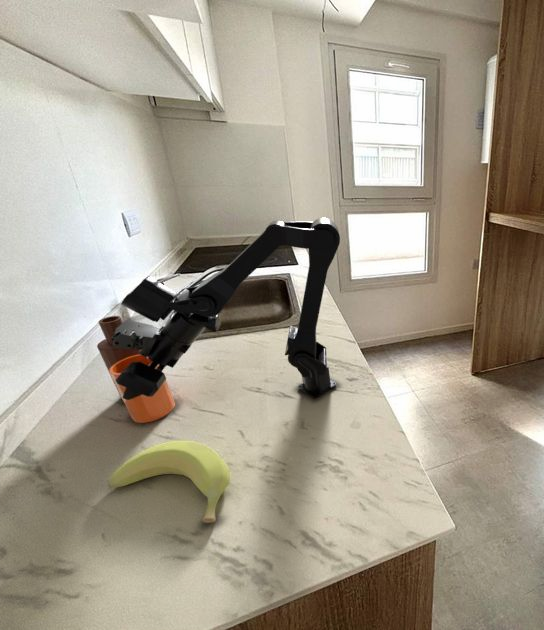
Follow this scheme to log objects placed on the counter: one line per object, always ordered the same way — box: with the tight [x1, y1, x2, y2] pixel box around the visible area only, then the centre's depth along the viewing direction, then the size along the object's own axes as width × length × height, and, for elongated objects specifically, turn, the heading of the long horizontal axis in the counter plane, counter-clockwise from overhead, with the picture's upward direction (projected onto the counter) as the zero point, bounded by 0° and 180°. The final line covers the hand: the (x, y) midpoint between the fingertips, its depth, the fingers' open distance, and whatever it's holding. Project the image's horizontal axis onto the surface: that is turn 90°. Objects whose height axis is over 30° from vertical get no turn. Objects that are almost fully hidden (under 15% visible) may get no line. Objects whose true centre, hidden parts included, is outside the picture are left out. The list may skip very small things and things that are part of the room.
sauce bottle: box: [96, 315, 142, 403], centre depth 71 cm, size 7×7×19 cm
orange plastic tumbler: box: [109, 354, 176, 424], centre depth 68 cm, size 7×7×12 cm
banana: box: [107, 440, 231, 524], centre depth 53 cm, size 14×6×20 cm
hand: (135, 386), depth 67 cm, fingers closed on orange plastic tumbler, 7 cm apart
